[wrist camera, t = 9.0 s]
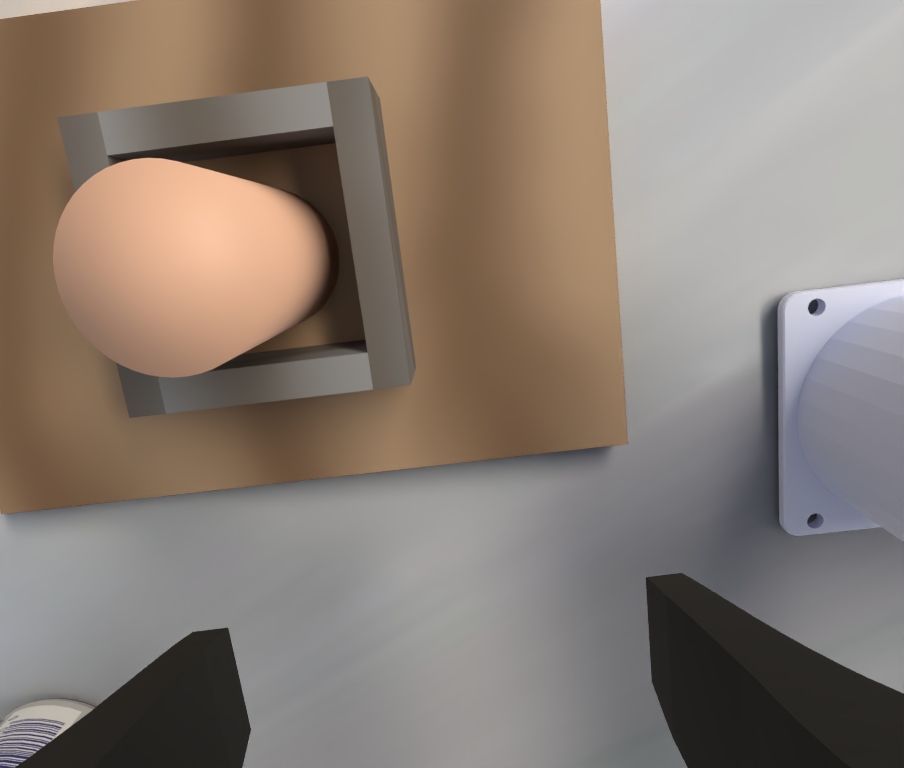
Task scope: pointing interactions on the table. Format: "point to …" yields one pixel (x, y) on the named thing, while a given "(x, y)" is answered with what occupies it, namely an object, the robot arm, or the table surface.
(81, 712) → the energy drink
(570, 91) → the socket base
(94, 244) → the peg
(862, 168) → the table surface
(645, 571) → the table surface
